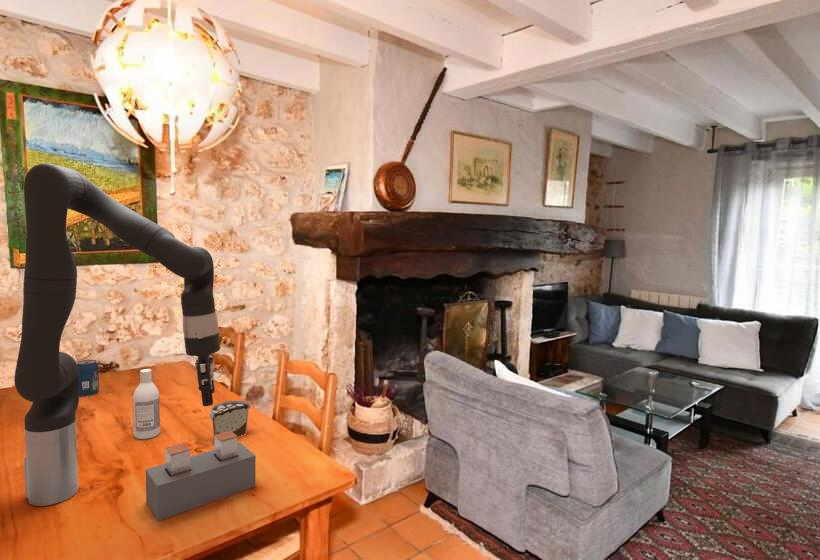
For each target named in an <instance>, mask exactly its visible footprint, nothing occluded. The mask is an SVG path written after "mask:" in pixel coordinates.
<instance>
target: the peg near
mask: <svg viewBox="0 0 820 560" xmlns="http://www.w3.org/2000/svg"><path fill="white" fill-rule="evenodd" d="M164 450H165V451H164V452H165V464H166V472H167V473H168V475H169V476H170V477H172V476H175V475H178V474H182V473H185V472H188V471H190V457H191V450H190V448H189V447H188V445H187V444H186V443H185V442H182V443H177V444H174V445H171V446H167V447H165V449H164Z"/></svg>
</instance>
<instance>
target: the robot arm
mask: <svg viewBox="0 0 820 560" xmlns="http://www.w3.org/2000/svg"><path fill="white" fill-rule="evenodd" d="M23 198H24V199H23V200H24V201H23V202H24V211H25V212H24V213H25V222H26V223H25V224H26V233H25V234H26V235H25V236H26V237H25V260H24V261H25V262H24V263H25V264H24V274H23V286H22V287H23V289H22V290H23V291H22V292H23V293H22V294H23V295H22V297H23V299H22V300H23V303H22V317H21V318H22V319H21V336H20V343H19V349H18V355H17V361H16V366H15V372H14V376H13V377H14V381H13V382H14V387H15V389H16V391H17V393H18V395H19V396H20V397H21V398H23V399H24V400H26V401H28V402H30V403H32V404H31V406H30V408H29V410H28V411H27V413H26V414H25V416H24V420H23V421H24V423H23V425H24V440H25V457H24V459H23V466H24V482H25V483H24V484H25V485H24V486H25V487H24V488H25V489H24V490H25V499H26V498H27V501H28V503H29V504H30V505H31V506H35V507H44V506H51V505H56V504H59V503H62V502H64V501H67V500H69V499H70V498H72V497H73V496H74V495H76V493H77V492H78V490H79V479H78V477H79V476H78V473H79V472H78V449H77V427H76V426H77V423H76V416H77V415H76V414H77V410H78V407H79V403H80V396H79V370H78V366H77V362H76V360H75V359H74V358H73V356H71V355H70V354H68V353H66V352H64V351H63V352H62V351H60V346H61V339H62V335H63V331H64V330H65V327H66V324H67V322H68V319H69V317H70V316H71V313H72V310H73V308H74V305H75V301H76V298H77V297H76V296H77V285H78V284H77V283H78V268H77V263H76V260H75V257H74V254H73V252H72V249H71V247H70V244H69V241H68V236H67V219H68V210H70V211H73V212H76V213H79V214H82V215H84V216H86V217H88V218H90V219H93V220H94V221H97V222H98V223H100V224H101V225H102V226H104V227H105V228H106V229H108V230H109V231H110V232H111V233H112V234H114V235H115V236H117V238H119V240H122V241H123V242H124V243H126V244H127V245H129V246H131V248H134V249H136V250H138V251H139V252H142V253H143V254H145V255H146V256H148V257H150V258H153V259H154V260H155V261H157V262H158V263H159V264H161V265H162V266H163V267H164V268H165V269H167V270H169V271H170V272H171V273H173V274H175V275H176V276H178V277H180V278H182V279H183V283H184V284H183V287H184V288H183V290H182V292H181V294H180V303H181V310H182V311H181V313H182V330H183V341H184V349H185V353H186V356H189V357H197V359H195V362H194V367H195V370H196V379H197V382H198V387H197V388H198V391H200V393H201V394H200V395H201V401H202V402H201V403H202V406H203V407H208V406H212V405H213V404H214V397H213V394H214V393H215V383H214V382H215V381H214V379H215V377H214V376H215V374H214V373H215V371H216V370H215V358H214V357H213V355H212V354H215V353H218V352H219V351H220V350H221V340H220V339H221V338H220V331H219V322H218V317H217V312H216V305H215V304H216V303H215V296H214V283H215V282H214V280H215V277H214V275H215V268H214V267H215V265H214V260H213V256H212V255H211V253H210V252H209V250H207V249H206V248H203V247H200V246H189V245H187V244H186V243H184V242H182V241H180V240H179V239H177V238H176V237H175V235H174V234H173V233H172V231H169V230H168V229H166V228H164V227H163V226H161V225H160V224H157V223H156V222H154V221H152V220H151V219H148V218H147V217H145V216H143V215H141V214H140V213H138V212H136V211H134V210H132V209H131V208H129V207H127V206H126V205H124V204H122V203H121V202H119V201H117V200H116V199H114V198H113V197H111V196H110V195H108V194H107V193H106V192H104V191H103V190H102V189H100V187H98V186H97V185H96V184H94V183H93V182H92V181H91V180H89V179H88V178H87V177H85V176H84V175H83V174H81V173H80V172H79V171H77V170H75V169H73V168H70V167H66V166H62V165H59V164H54V163H48V162H47V163H39V164H36V165H33V166H32V167H31V168H29V170H28V172H27V173H26V174H25V177H24V183H23Z"/></svg>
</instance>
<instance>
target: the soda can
mask: <svg viewBox="0 0 820 560" xmlns="http://www.w3.org/2000/svg"><path fill="white" fill-rule="evenodd" d="M76 364H77V366H78V370H79V397H91V396H95V395H96V394H97V393H98V392H99V390H100V377H99V374H100V373H99V364H98V362H97V360H96V359H83V360H79V361H77V362H76Z"/></svg>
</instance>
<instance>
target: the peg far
mask: <svg viewBox="0 0 820 560" xmlns="http://www.w3.org/2000/svg"><path fill="white" fill-rule="evenodd" d="M213 438H214V439H213V440H214V450H215V457H216V458H217V459H218V460H219V461H220V462H221V461H224V460H228V459H231V458H234V457H237V443H238V438H237V435H235V434H234V433H233V432H232V431H227V432H223V433H220V434H216V435H214V434H213Z"/></svg>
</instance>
